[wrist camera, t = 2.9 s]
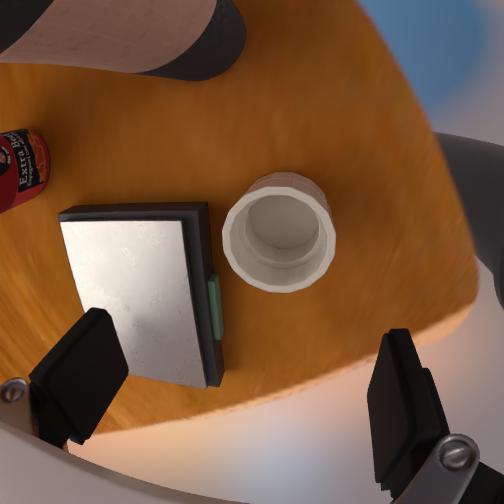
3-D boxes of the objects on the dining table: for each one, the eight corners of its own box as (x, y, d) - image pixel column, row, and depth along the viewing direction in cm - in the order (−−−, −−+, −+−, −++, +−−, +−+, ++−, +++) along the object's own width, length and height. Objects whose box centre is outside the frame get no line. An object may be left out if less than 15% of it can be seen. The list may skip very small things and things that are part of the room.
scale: (214, 201, 24) (205, 210, 22) (230, 372, 32) (225, 388, 30) (73, 205, 27) (57, 213, 25) (113, 352, 34) (103, 365, 32)
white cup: (331, 172, 22) (338, 188, 17) (327, 257, 25) (331, 294, 20) (238, 170, 23) (218, 186, 18) (242, 254, 26) (226, 289, 21)
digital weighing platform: (184, 218, 22) (181, 220, 22) (208, 384, 29) (206, 389, 29) (63, 219, 24) (59, 221, 24) (108, 365, 31) (105, 368, 31)
